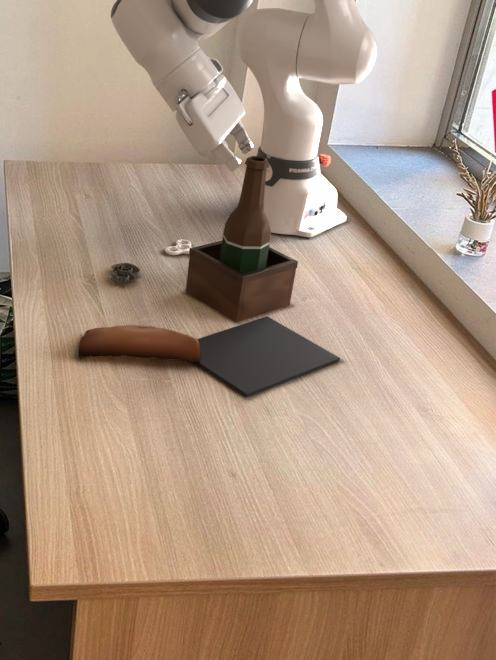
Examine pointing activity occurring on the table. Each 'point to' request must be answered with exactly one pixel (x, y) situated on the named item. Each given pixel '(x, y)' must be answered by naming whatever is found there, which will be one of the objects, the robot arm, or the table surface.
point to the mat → (260, 356)
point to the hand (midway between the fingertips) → (243, 159)
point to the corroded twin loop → (123, 273)
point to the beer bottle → (248, 223)
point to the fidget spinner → (179, 247)
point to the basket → (239, 283)
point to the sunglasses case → (139, 343)
